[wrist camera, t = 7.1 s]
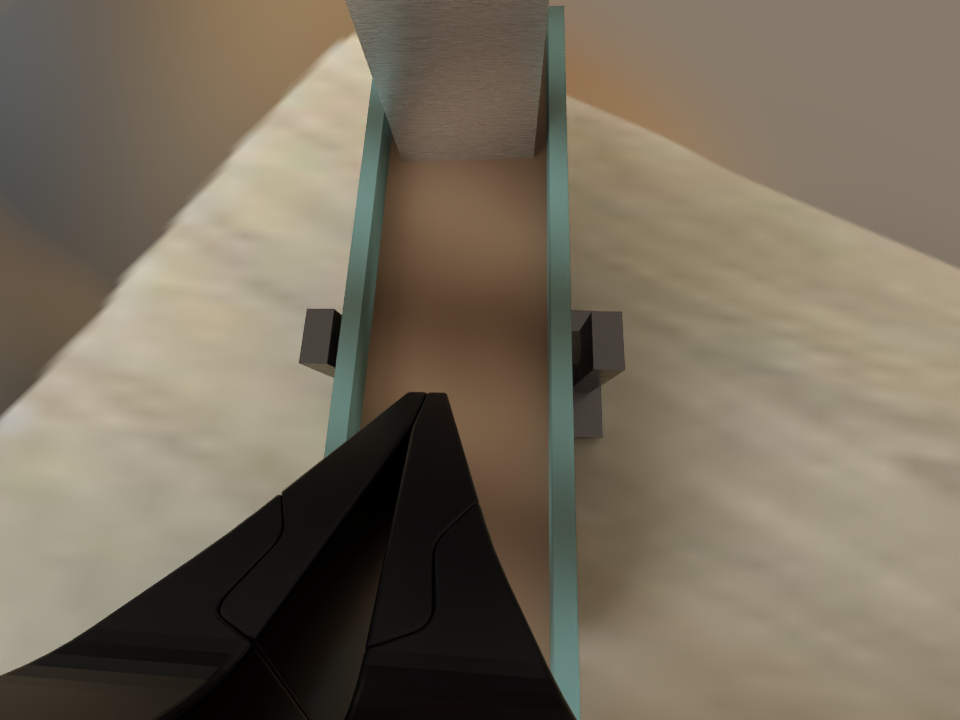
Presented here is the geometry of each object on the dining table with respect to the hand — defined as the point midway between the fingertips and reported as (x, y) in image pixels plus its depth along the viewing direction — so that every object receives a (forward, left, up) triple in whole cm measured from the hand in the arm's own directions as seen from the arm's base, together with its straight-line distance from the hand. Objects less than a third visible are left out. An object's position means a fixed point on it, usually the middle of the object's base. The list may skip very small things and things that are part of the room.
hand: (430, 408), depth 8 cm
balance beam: (+3, -1, -7) cm, 8 cm away
